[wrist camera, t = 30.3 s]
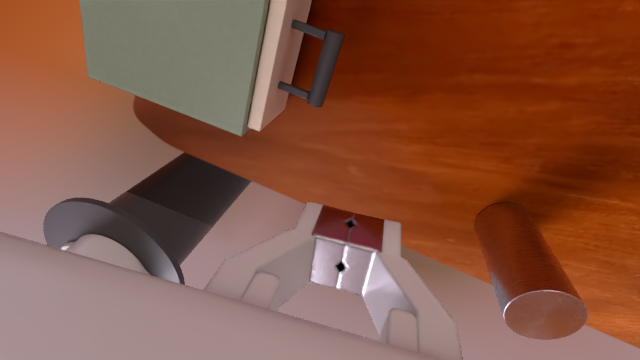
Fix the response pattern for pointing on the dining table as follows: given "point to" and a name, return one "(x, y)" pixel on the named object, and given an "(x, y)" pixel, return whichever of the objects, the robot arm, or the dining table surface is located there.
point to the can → (527, 275)
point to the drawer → (289, 61)
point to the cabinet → (179, 53)
